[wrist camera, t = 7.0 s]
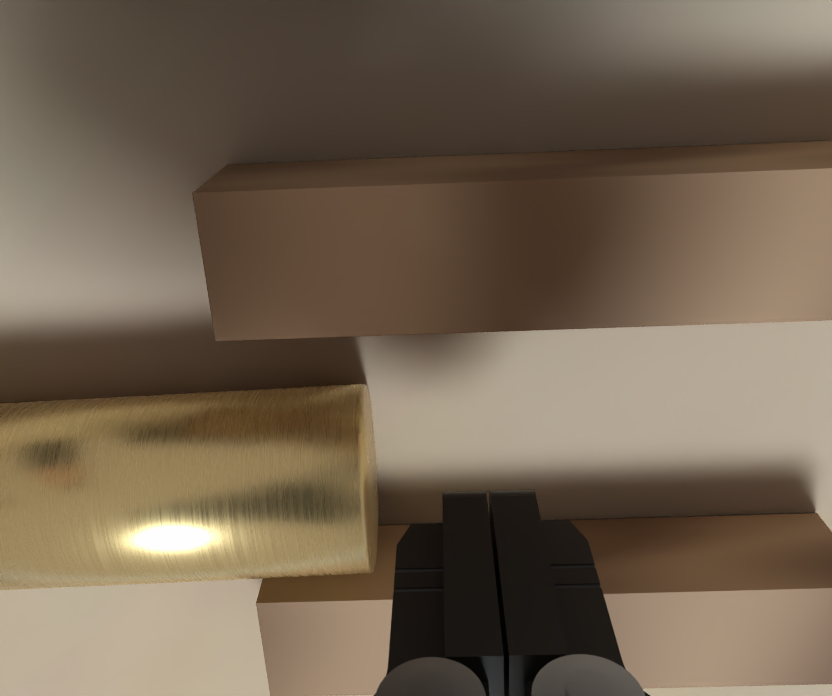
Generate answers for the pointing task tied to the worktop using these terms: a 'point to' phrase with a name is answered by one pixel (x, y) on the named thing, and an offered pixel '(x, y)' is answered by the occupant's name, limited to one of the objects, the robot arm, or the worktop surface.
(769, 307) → the parallel bars
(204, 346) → the worktop surface
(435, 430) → the worktop surface
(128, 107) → the worktop surface
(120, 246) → the worktop surface
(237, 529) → the axle
